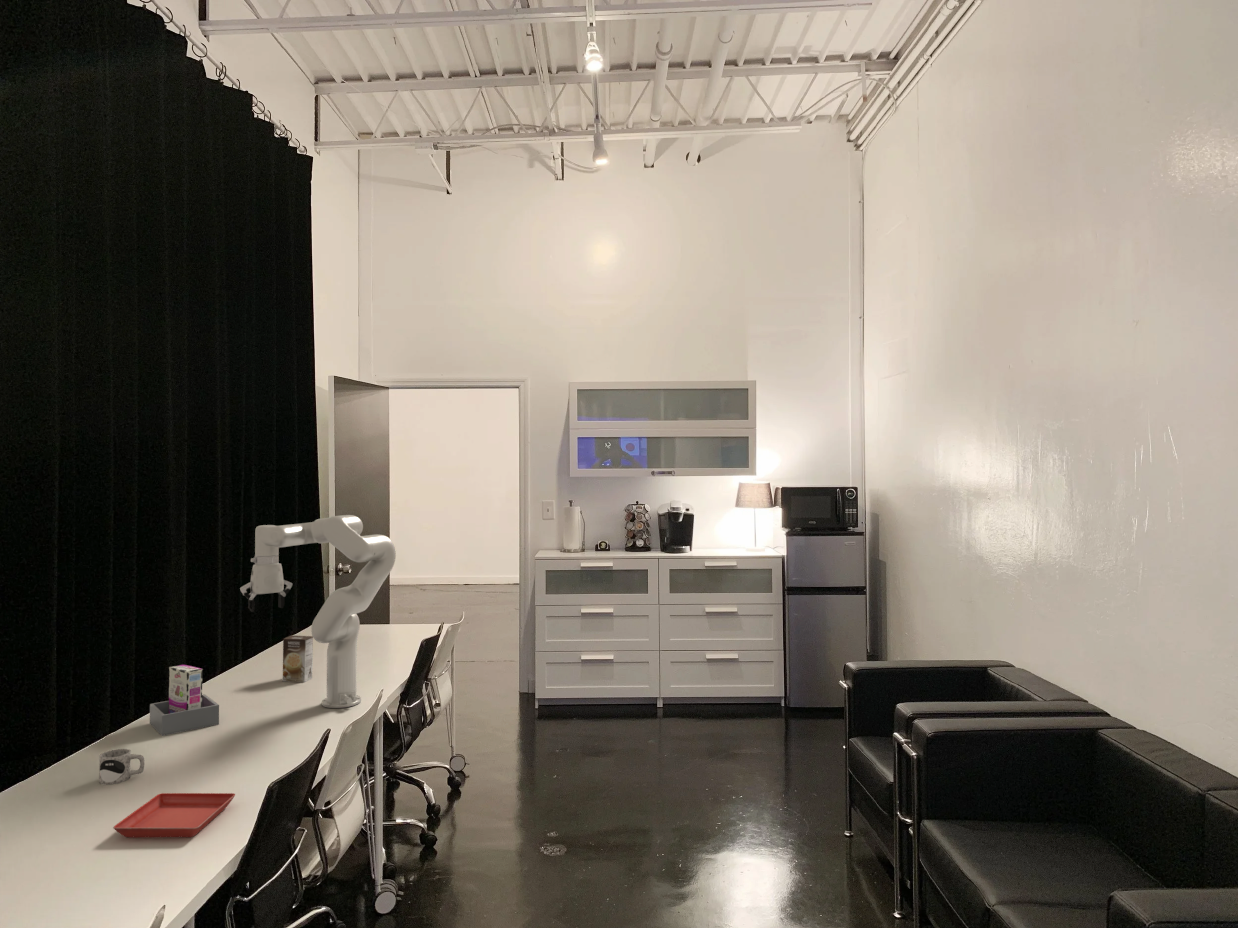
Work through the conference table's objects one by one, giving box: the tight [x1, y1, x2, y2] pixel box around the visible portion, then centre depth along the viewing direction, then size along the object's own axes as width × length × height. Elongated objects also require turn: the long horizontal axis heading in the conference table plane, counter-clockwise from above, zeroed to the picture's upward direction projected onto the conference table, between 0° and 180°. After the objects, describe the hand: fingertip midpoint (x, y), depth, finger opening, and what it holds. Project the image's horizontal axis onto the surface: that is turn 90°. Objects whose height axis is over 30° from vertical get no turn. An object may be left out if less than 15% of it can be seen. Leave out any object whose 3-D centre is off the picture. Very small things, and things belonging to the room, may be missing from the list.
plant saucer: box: [112, 792, 236, 839], centre depth 173 cm, size 18×18×3 cm
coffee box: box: [282, 634, 314, 683], centre depth 292 cm, size 9×6×16 cm
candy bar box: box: [168, 664, 204, 714], centre depth 241 cm, size 11×5×16 cm, turn 57°
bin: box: [149, 694, 220, 737], centre depth 241 cm, size 16×16×6 cm
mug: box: [98, 748, 145, 785], centre depth 198 cm, size 10×7×7 cm
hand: (266, 609), depth 271 cm, fingers open, 9 cm apart
